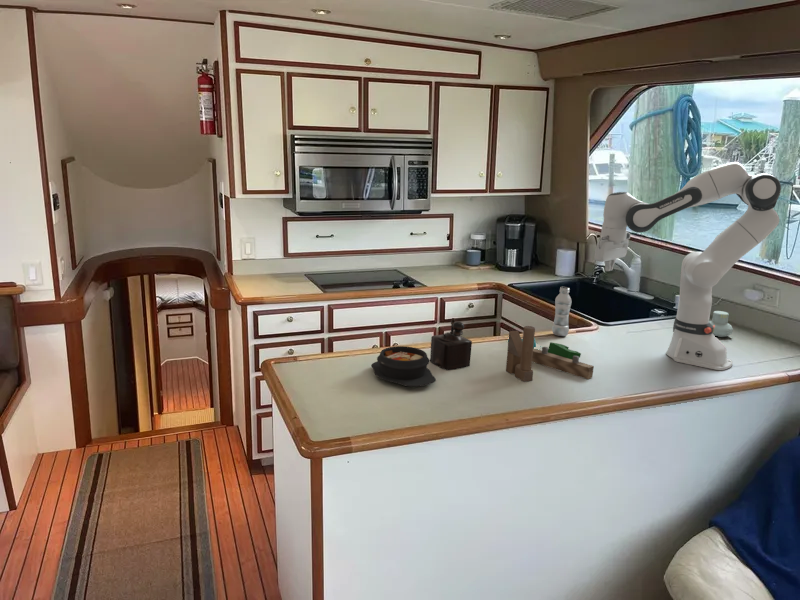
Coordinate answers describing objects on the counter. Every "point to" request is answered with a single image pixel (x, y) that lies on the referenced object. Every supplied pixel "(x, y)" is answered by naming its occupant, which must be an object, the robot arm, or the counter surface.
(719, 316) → the air freshener
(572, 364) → the bar
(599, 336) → the counter surface
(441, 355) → the coffee grinder
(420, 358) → the casserole
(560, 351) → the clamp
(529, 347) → the wooden letter n
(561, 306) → the plastic bottle
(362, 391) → the counter surface
